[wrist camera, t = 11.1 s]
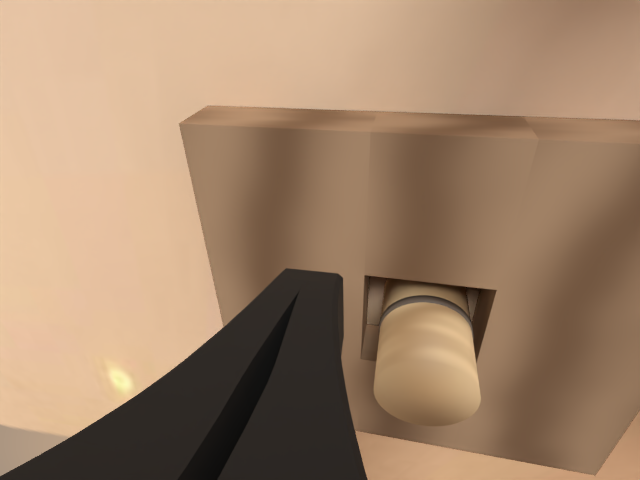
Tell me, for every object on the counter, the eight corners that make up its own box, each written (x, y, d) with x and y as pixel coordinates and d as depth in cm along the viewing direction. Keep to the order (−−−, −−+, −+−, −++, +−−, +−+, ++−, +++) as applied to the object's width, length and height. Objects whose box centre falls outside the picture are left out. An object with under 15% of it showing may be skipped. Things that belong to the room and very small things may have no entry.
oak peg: (465, 257, 19) (480, 360, 14) (468, 321, 21) (483, 429, 16) (377, 263, 20) (364, 359, 15) (389, 322, 22) (380, 424, 17)
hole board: (756, 124, 14) (814, 151, 12) (580, 431, 23) (595, 475, 21) (207, 105, 17) (179, 123, 15) (255, 376, 27) (241, 409, 25)
